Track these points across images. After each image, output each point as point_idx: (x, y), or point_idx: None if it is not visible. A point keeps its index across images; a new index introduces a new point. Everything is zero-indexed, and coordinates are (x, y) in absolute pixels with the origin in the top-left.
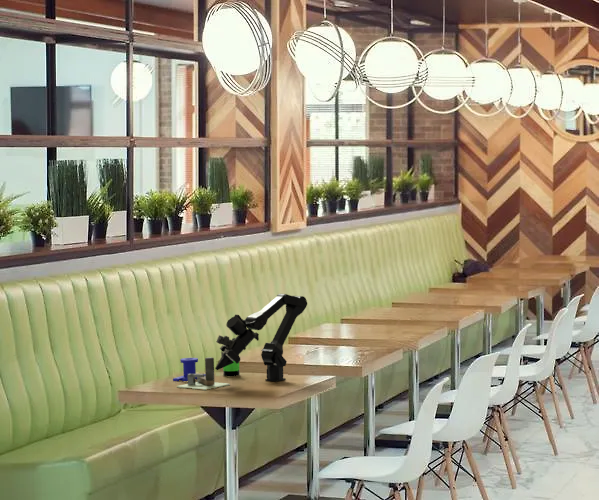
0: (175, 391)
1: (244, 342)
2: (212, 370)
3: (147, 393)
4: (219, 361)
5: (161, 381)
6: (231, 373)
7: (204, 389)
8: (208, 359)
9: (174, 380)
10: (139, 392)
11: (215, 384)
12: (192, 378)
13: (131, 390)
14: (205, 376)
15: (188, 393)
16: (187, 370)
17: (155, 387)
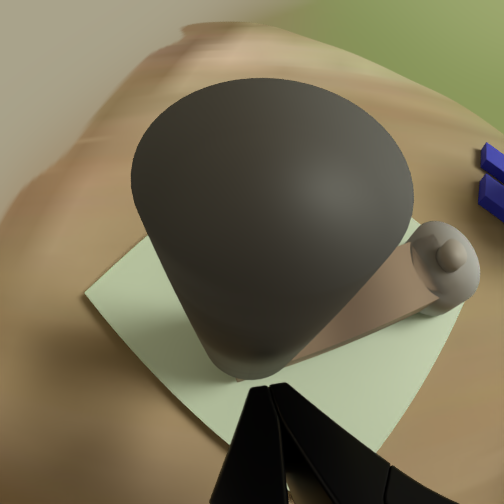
0: (141, 134)
1: None
2: (199, 336)
3: (146, 61)
4: (323, 487)
5: (458, 114)
6: None
7: (91, 290)
8: (148, 150)
9: (482, 152)
10: (184, 44)
11: (309, 392)
12: None
13: (243, 31)
14: (458, 284)
15: (42, 197)
16: None
17: (303, 74)
